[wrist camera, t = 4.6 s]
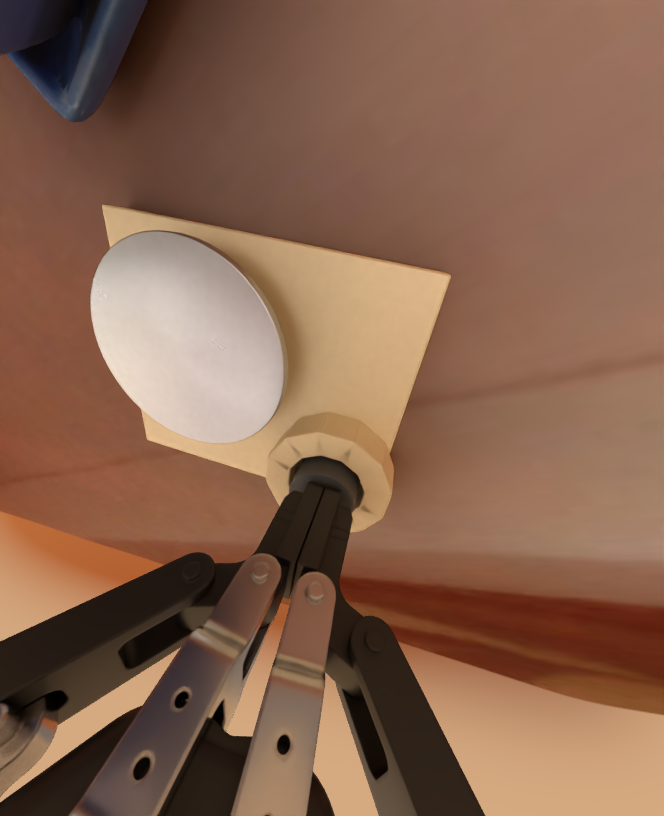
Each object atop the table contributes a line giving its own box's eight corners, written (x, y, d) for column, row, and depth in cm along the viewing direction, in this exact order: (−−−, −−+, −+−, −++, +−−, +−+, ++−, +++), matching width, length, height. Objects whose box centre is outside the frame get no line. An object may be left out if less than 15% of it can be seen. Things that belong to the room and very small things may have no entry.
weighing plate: (121, 412, 14) (114, 416, 14) (74, 210, 10) (62, 208, 10) (280, 460, 13) (276, 466, 13) (300, 257, 9) (296, 257, 9)
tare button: (298, 486, 15) (285, 512, 14) (305, 441, 14) (291, 464, 12) (353, 504, 15) (346, 532, 13) (366, 459, 13) (360, 485, 12)
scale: (162, 435, 19) (122, 464, 16) (125, 207, 13) (52, 195, 10) (378, 503, 17) (371, 547, 14) (460, 275, 11) (475, 282, 8)
